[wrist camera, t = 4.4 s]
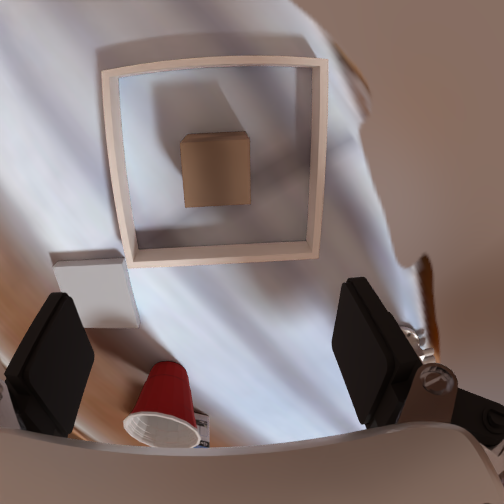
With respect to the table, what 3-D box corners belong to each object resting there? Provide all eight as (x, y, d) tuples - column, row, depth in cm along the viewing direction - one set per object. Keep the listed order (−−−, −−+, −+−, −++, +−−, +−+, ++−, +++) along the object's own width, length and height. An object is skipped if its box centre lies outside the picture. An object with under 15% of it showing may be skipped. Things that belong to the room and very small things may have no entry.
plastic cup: (122, 357, 45) (106, 420, 35) (183, 342, 45) (177, 410, 34) (156, 397, 51) (149, 455, 40) (212, 385, 50) (213, 448, 39)
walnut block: (245, 131, 32) (249, 139, 27) (246, 185, 35) (250, 204, 30) (187, 134, 32) (179, 143, 26) (190, 188, 34) (185, 207, 29)
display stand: (124, 257, 37) (121, 263, 36) (140, 321, 42) (138, 328, 41) (57, 261, 37) (52, 267, 35) (78, 320, 42) (74, 327, 40)
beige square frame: (319, 61, 29) (328, 59, 26) (312, 246, 39) (318, 258, 36) (111, 72, 27) (101, 70, 25) (133, 255, 37) (127, 268, 35)
